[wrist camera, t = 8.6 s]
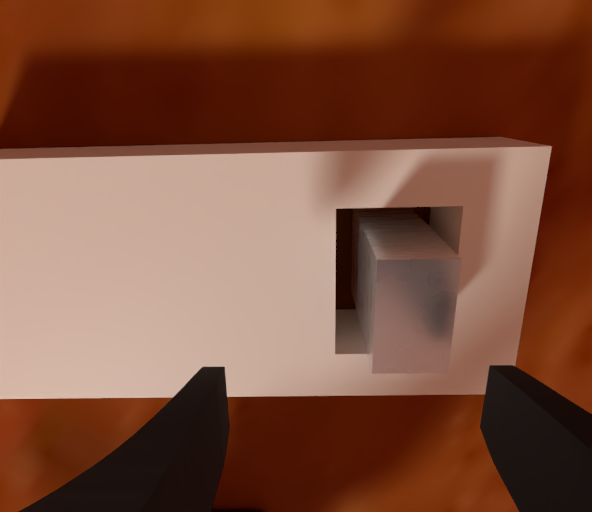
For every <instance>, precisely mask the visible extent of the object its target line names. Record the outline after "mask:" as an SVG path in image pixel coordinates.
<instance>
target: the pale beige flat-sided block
mask: <svg viewBox="0 0 592 512" xmlns="http://www.w3.org/2000/svg"><path fill="white" fill-rule="evenodd" d="M551 149H552V146H548V145H543V144H537V143H532V142H527V141H521V140H516V139H511V138H505V137H473V138H431V139H390V140H349V141H307V142H266V143H225V144H183V145H142V146H101V147H59V148H18V149H0V399H44V398H150V397H174V396H175V395H176V394H177V393H178V392H179V391H180V390H181V389H182V388H183V387H184V386H185V384H186V383H187V382H188V381H189V380H190V379H191V378H192V377H193V376H194V375H195V374H196V373H197V372H198V371H199V370H200V369H201V368H202V367H225V377H226V390H227V397H256V396H362V395H468V394H485V392H486V385H487V379H488V372H489V366H490V365H513V366H515V364H516V358H517V352H518V346H519V340H520V334H521V328H522V322H523V316H524V310H525V304H526V298H527V292H528V286H529V280H530V274H531V268H532V262H533V256H534V250H535V244H536V238H537V232H538V226H539V220H540V215H541V209H542V203H543V197H544V191H545V185H546V179H547V173H548V167H549V161H550V155H551ZM393 207H430V220H429V226H430V227H431V228H432V229H433V230H434V231H435V232H436V233H437V234H438V235H439V236H440V238H441V239H442V240H443V241H444V242H445V243H446V244H447V245H448V246H449V247H450V248H451V249H452V250H453V251H454V252H455V253H456V254H457V255H458V256H459V257H460V258H461V259H462V262H461V270H460V278H459V287H458V295H457V304H456V312H455V321H454V329H453V338H452V346H451V354H450V363H449V371H448V373H414V374H372V372H371V368H370V364H369V360H368V356H367V352H366V348H365V344H364V340H363V336H362V332H361V328H360V324H359V320H358V316H357V312H356V309H335V303H336V209H343V208H393Z"/></svg>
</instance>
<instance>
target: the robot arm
mask: <svg viewBox="0 0 592 512" xmlns="http://www.w3.org/2000/svg"><path fill="white" fill-rule="evenodd" d="M480 428H481V431H482V434H483V436H484V439H485V442H486V445H487V447H488V450H489V452H490V455H491V457H492V460H493V462H494V464H495V466H496V468H497V470H498V472H499V474H500V476H501V478H502V480H503V482H504V484H505V485H506V487H507V489H508V491H509V493H510V495H511V497H512V499H513V500H514V502H515V504H516V506H517V508H518V510H519V511H520V512H592V414H590V413H589V412H587V411H585V410H584V409H582V408H581V407H579V406H577V405H576V404H574V403H573V402H571V401H569V400H568V399H566V398H565V397H563V396H562V395H560V394H558V393H557V392H555V391H554V390H552V389H551V388H549V387H548V386H546V385H544V384H543V383H541V382H540V381H538V380H537V379H535V378H533V377H532V376H530V375H529V374H527V373H525V372H524V371H522V370H520V369H519V368H517V367H515V366H513V365H490V366H489V372H488V379H487V385H486V392H485V398H484V405H483V412H482V418H481V425H480ZM229 429H230V426H229V414H228V402H227V390H226V377H225V367H202V368H201V369H200V370H199V371H198V372H197V373H196V374H195V375H194V376H193V377H192V378H191V379H190V380H189V381H188V382H187V383H186V384H185V386H184V387H183V388H182V389H181V390H180V391H179V392H178V393H177V394H176V395H175V396H174V397H173V398H172V399H171V400H170V401H169V402H168V403H167V404H166V405H165V406H164V407H163V408H162V409H161V410H160V411H159V412H158V413H157V414H156V415H155V416H154V417H153V418H152V419H151V420H150V421H148V422H147V423H146V424H145V425H144V426H143V427H142V428H141V429H140V430H138V431H137V432H136V433H135V434H134V435H133V436H132V437H131V438H129V439H128V440H127V441H126V442H124V443H123V444H122V445H121V446H119V447H118V448H117V449H116V450H114V451H113V452H112V453H110V454H109V455H108V456H106V457H105V458H104V459H102V460H101V461H100V462H98V463H97V464H95V465H94V466H92V467H91V468H89V469H88V470H86V471H85V472H83V473H82V474H80V475H79V476H77V477H76V478H74V479H73V480H71V481H70V482H68V483H67V484H65V485H63V486H62V487H60V488H59V489H57V490H56V491H54V492H52V493H51V494H49V495H47V496H45V497H44V498H42V499H40V500H39V501H37V502H35V503H33V504H32V505H30V506H28V507H26V508H24V509H22V510H21V511H19V512H211V509H212V506H213V502H214V499H215V495H216V491H217V488H218V484H219V481H220V477H221V473H222V469H223V466H224V461H225V455H226V449H227V442H228V435H229Z"/></svg>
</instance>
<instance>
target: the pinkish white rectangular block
mask: <svg viewBox="0 0 592 512" xmlns="http://www.w3.org/2000/svg"><path fill="white" fill-rule="evenodd" d="M461 262H462V259H461V258H460V257H459V256H458V255H457V254H456V253H455V252H454V251H453V250H452V249H451V248H450V247H449V246H448V245H447V244H446V243H445V242H444V241H443V240H442V239H441V238H440V236H439V235H438V234H437V233H436V232H435V231H434V230H433V229H432V228H431V227H430V226H429V225H428V224H427V223H426V222H425V221H424V220H423V219H422V218H421V217H420V216H419V215H418V214H417V213H416V212H415V211H414V210H413V209H412V208H411V207H393V208H353V216H352V252H351V292H352V296H353V300H354V304H355V308H356V312H357V316H358V320H359V324H360V328H361V332H362V336H363V340H364V344H365V348H366V352H367V356H368V360H369V364H370V368H371V372H372V374H414V373H448V371H449V363H450V354H451V346H452V338H453V329H454V321H455V312H456V304H457V295H458V287H459V278H460V270H461Z"/></svg>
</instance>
